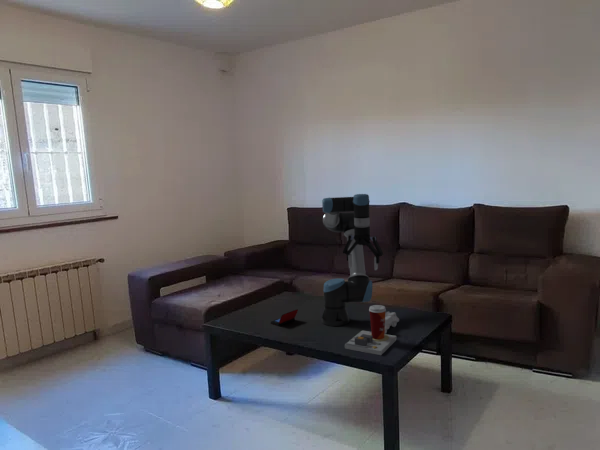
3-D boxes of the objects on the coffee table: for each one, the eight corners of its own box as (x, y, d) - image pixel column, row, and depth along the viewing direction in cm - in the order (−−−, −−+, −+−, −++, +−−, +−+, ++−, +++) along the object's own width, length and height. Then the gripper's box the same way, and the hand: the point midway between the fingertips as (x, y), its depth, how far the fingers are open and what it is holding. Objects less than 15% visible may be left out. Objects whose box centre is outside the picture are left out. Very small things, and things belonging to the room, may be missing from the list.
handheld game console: (286, 317, 262) (285, 305, 261) (299, 321, 254) (298, 308, 253) (269, 323, 253) (268, 310, 252) (282, 328, 246) (282, 314, 245)
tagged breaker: (354, 344, 212) (354, 337, 212) (357, 342, 215) (357, 335, 214) (364, 346, 210) (364, 339, 209) (367, 344, 212) (367, 337, 212)
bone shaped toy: (385, 325, 244) (384, 310, 243) (400, 326, 239) (399, 311, 238) (372, 334, 232) (371, 318, 231) (388, 335, 227) (386, 319, 226)
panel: (344, 348, 214) (344, 338, 213) (362, 334, 231) (362, 324, 230) (381, 355, 205) (380, 344, 204) (396, 339, 221) (396, 330, 221)
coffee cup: (386, 340, 215) (385, 310, 213) (369, 340, 217) (368, 309, 215) (386, 334, 223) (386, 304, 222) (369, 333, 225) (369, 304, 223)
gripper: (335, 226, 224) (336, 268, 227) (384, 228, 211) (384, 272, 215) (341, 223, 230) (343, 264, 234) (389, 225, 218) (390, 268, 221)
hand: (363, 268), depth 224 cm, fingers open, 13 cm apart
